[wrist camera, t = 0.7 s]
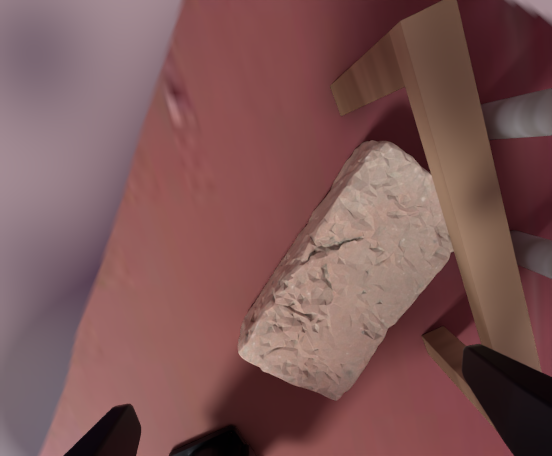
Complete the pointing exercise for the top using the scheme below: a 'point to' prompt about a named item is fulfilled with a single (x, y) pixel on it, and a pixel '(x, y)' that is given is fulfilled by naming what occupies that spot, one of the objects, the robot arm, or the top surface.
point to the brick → (349, 273)
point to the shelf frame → (462, 173)
